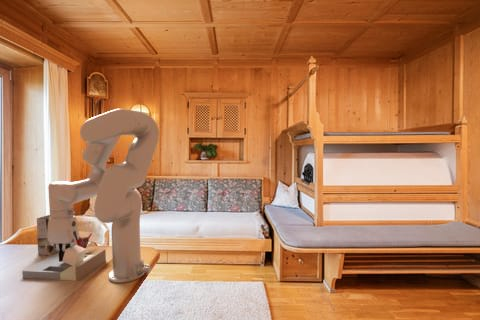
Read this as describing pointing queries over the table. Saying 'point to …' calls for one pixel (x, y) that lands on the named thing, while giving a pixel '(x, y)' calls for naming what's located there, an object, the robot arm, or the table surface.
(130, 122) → the robot arm
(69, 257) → the cream block
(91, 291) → the table surface
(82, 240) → the decorative bird figurine
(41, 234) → the coffee box
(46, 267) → the board
